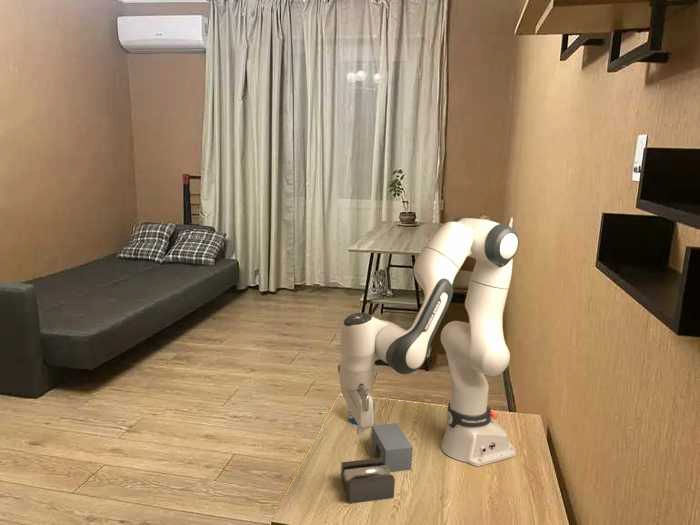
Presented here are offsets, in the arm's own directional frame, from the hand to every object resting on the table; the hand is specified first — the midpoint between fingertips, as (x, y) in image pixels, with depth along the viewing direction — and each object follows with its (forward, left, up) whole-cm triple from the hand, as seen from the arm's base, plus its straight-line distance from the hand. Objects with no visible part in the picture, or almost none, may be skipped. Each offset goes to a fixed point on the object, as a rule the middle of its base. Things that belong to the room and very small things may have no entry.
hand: (356, 425), depth 136 cm
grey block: (-15, -13, -19) cm, 27 cm away
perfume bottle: (-12, -35, -19) cm, 41 cm away
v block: (-4, 0, -19) cm, 19 cm away
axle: (-4, 0, -16) cm, 16 cm away
